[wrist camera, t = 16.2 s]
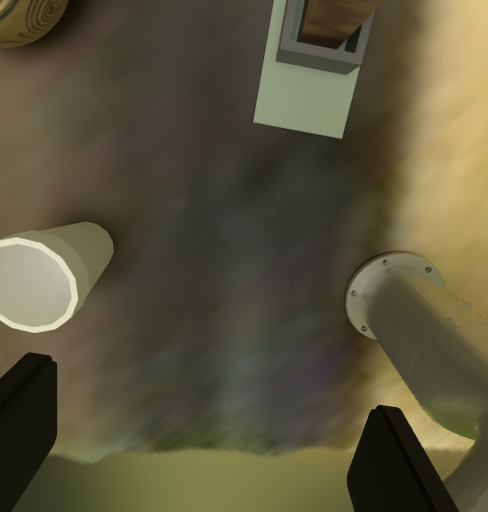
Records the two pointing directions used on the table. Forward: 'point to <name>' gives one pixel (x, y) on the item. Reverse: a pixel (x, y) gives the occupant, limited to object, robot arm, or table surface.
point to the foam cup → (50, 274)
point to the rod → (332, 20)
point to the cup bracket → (307, 76)
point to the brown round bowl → (27, 20)
